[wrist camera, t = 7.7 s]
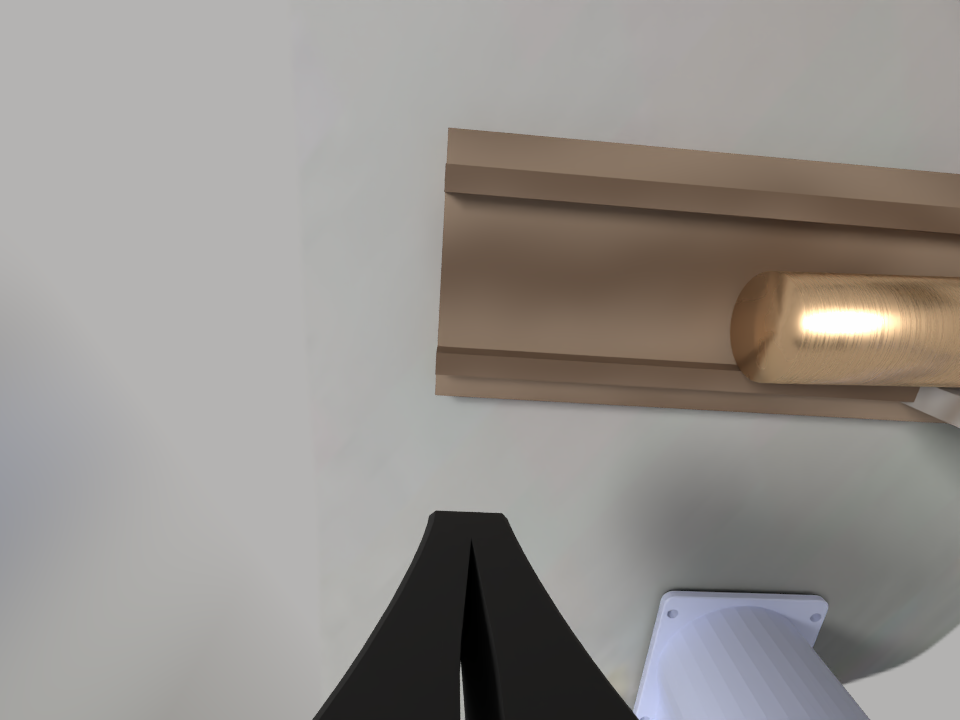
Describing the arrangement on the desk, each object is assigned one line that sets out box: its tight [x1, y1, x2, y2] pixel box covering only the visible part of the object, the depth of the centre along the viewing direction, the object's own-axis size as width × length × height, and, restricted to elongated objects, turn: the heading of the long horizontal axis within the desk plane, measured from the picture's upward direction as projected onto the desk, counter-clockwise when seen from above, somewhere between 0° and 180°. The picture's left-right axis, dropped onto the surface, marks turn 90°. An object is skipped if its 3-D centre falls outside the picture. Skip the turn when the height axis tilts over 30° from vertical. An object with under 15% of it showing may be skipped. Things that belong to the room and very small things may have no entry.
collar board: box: [435, 128, 960, 428], centre depth 14 cm, size 9×26×6 cm, turn 86°
